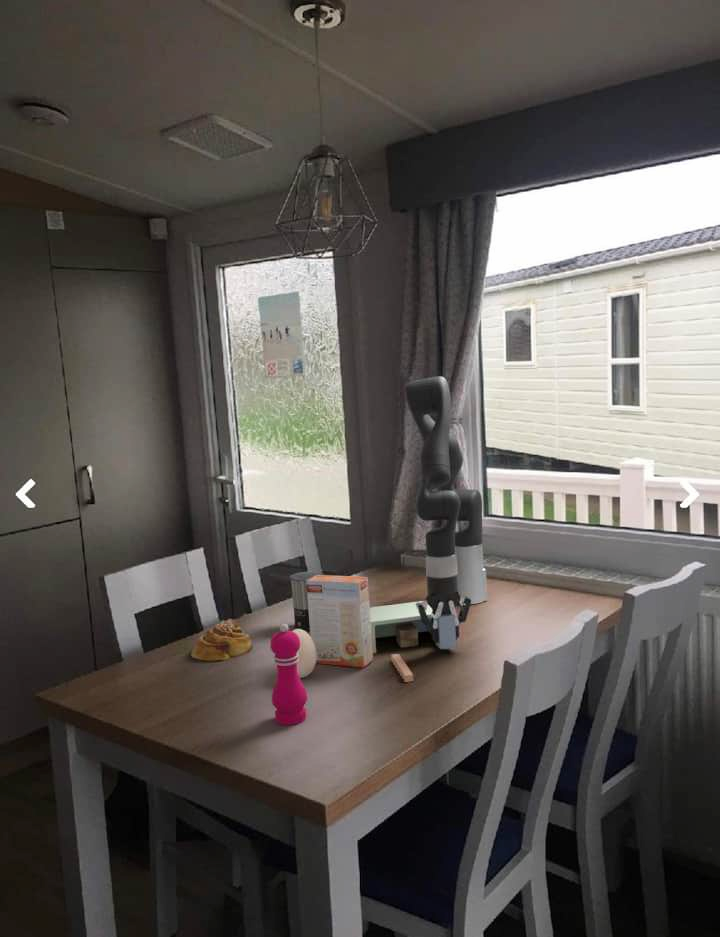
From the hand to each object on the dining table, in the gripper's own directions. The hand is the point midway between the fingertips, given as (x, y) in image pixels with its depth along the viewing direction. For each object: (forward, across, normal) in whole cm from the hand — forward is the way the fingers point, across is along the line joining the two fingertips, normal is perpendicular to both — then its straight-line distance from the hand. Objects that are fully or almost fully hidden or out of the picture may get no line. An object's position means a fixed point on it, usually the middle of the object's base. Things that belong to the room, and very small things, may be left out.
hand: (445, 640), depth 196 cm
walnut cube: (+3, +7, -9) cm, 12 cm away
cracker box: (+3, +25, -3) cm, 26 cm away
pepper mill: (+3, +42, +25) cm, 49 cm away
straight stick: (+3, +14, +8) cm, 16 cm away
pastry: (+3, +53, -22) cm, 58 cm away
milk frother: (+3, +25, -34) cm, 42 cm away
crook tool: (+1, +2, -6) cm, 6 cm away
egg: (+3, +36, +3) cm, 37 cm away
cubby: (+3, +6, -12) cm, 13 cm away
